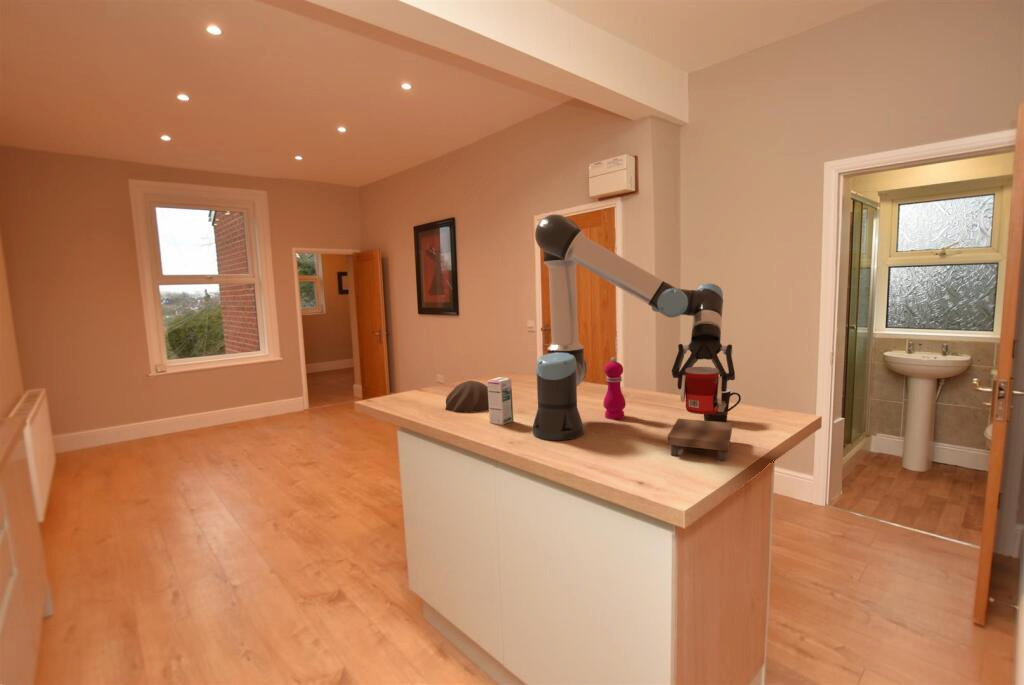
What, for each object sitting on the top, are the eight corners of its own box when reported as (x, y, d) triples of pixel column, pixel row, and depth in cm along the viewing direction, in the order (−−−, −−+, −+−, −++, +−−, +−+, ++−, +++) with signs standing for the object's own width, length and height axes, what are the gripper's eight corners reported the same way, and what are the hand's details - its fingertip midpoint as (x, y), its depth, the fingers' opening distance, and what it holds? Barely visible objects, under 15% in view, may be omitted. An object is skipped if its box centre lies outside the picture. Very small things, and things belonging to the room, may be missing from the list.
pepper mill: (628, 415, 161) (628, 356, 159) (621, 420, 155) (620, 359, 153) (608, 413, 165) (607, 355, 163) (600, 418, 159) (599, 358, 157)
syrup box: (503, 425, 155) (501, 381, 154) (488, 423, 159) (486, 379, 157) (513, 421, 160) (512, 378, 158) (499, 418, 163) (497, 376, 162)
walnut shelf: (667, 456, 122) (667, 436, 121) (677, 435, 138) (677, 418, 137) (728, 463, 116) (728, 442, 115) (731, 440, 132) (732, 423, 131)
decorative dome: (478, 398, 197) (477, 374, 196) (506, 406, 181) (505, 380, 180) (435, 406, 185) (434, 380, 184) (462, 416, 170) (461, 388, 168)
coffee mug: (700, 423, 148) (700, 392, 147) (700, 416, 156) (700, 386, 155) (742, 426, 144) (742, 393, 143) (740, 419, 152) (740, 387, 151)
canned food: (721, 414, 121) (721, 371, 120) (688, 414, 123) (687, 371, 122) (715, 407, 129) (715, 366, 127) (683, 407, 130) (683, 366, 129)
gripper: (748, 339, 133) (746, 410, 120) (669, 338, 142) (660, 405, 130) (747, 321, 127) (746, 394, 115) (665, 322, 137) (656, 389, 124)
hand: (700, 400), depth 122 cm, fingers closed on canned food, 8 cm apart
